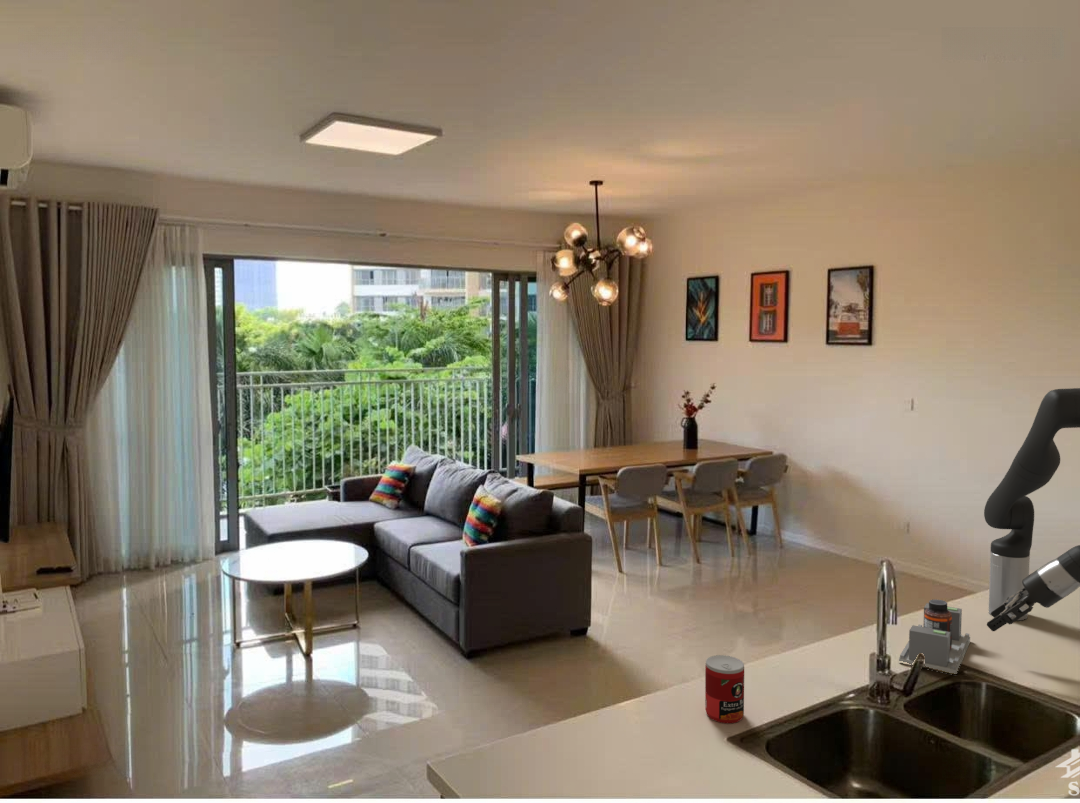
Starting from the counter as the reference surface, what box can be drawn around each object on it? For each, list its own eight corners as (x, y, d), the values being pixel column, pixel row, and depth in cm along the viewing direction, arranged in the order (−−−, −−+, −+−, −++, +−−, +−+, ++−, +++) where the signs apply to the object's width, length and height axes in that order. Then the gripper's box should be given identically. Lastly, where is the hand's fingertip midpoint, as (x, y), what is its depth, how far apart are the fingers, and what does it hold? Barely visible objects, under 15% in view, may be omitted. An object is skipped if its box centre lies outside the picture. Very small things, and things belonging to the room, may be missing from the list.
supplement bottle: (944, 642, 192) (945, 597, 191) (956, 652, 186) (957, 606, 185) (919, 642, 193) (920, 597, 192) (930, 652, 187) (931, 605, 186)
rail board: (917, 631, 203) (918, 599, 202) (970, 641, 196) (971, 608, 195) (898, 663, 183) (899, 627, 183) (956, 675, 176) (957, 638, 176)
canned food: (722, 727, 154) (723, 673, 153) (697, 711, 161) (697, 659, 160) (752, 718, 157) (753, 665, 156) (725, 702, 164) (726, 652, 163)
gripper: (1040, 561, 182) (982, 600, 189) (1036, 576, 170) (975, 617, 178) (1066, 587, 179) (1007, 626, 187) (1064, 605, 168) (1001, 645, 175)
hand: (991, 622), depth 182 cm, fingers open, 8 cm apart
